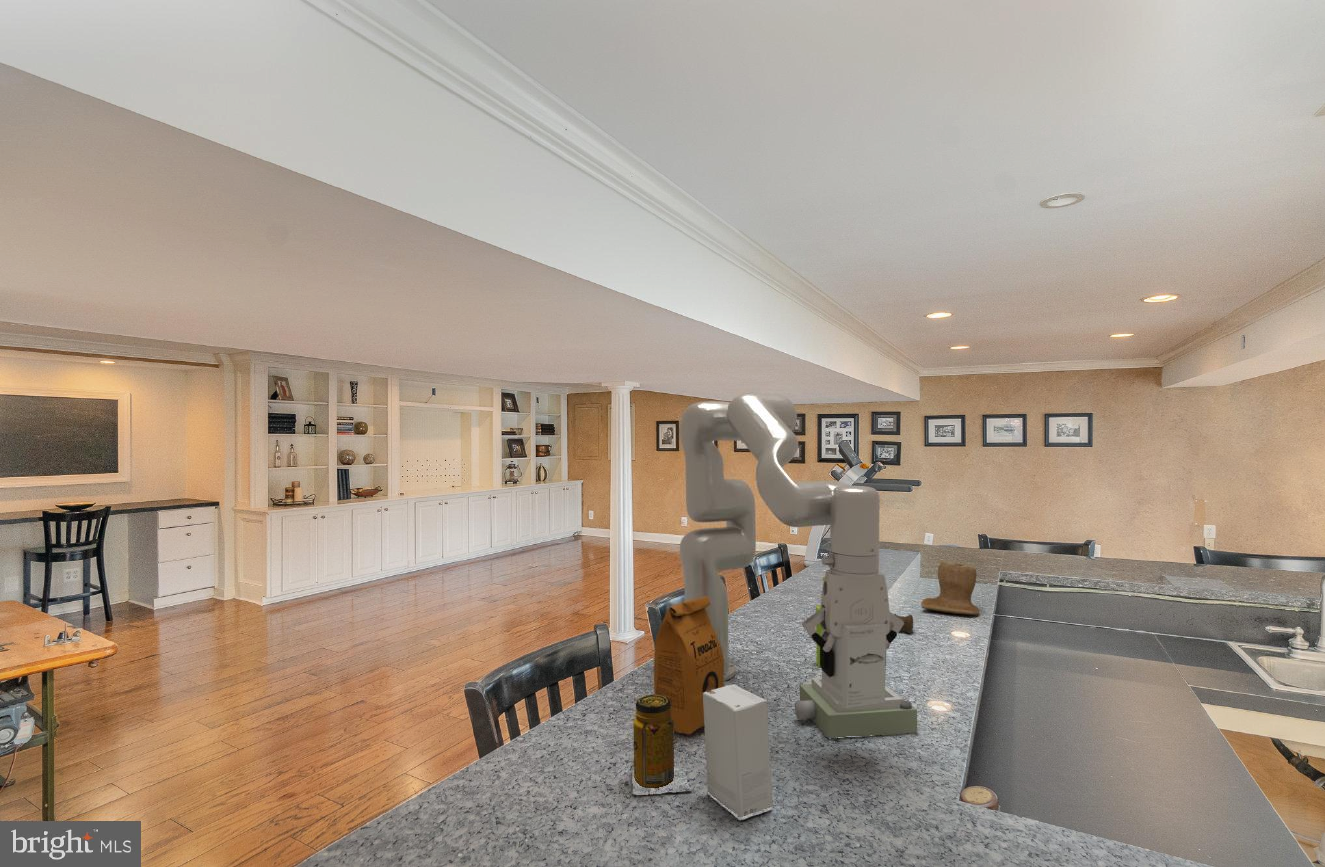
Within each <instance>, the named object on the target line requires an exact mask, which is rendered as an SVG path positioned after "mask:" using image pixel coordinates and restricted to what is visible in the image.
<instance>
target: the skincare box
mask: <svg viewBox="0 0 1325 867" xmlns="http://www.w3.org/2000/svg"><path fill="white" fill-rule="evenodd" d="M703 707H704V726H703V728H704V745H705V746H704V747H705V764H706V765H705V767H706V783H707V784H706V789H707V793H708V792H709V793H710V794H711V795H712V796H713V797H714V798H716V799H717V800H718V801H720V803H722V804H723V805H725V807H727V808H728V809H730V810H732V811H733V812H734V813H735V814H737V815H738V816H739V817H743V816H746V815H748V814H751V813H756V812H758V811H761V810H763V809H767V808H770V807H774V802H773V801H774V800H773V788H772V787H773V786H772V768H771V752H770V750H771V749H770V735H769V734H770V733H769V716H768V713H769V712H768V700H767V699H764V698H762V697H761V696H759V695H756V694H754V693H752V692H750V691H748V690H746V689H744V688H742V687H740V686H738V685H736V684H733V683H732V684H727V685H724V687H721V688H718V689H714V690H711V691H707V692H704V693H703Z"/></svg>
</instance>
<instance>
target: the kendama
mask: <svg viewBox="0 0 1325 867" xmlns="http://www.w3.org/2000/svg"><path fill="white" fill-rule="evenodd" d="M893 614H894V615H895V616H897V617H898V618H899V619H901V620H902V621H903V622H904V625H903V626H902V628H901V629H900V631H904V632H906V633H907V634H908V635H911V634H912V633H913V630H914V617H913V615H912V614H908V615H906V616H902V615H897V614H896V613H893Z"/></svg>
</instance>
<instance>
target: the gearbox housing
mask: <svg viewBox="0 0 1325 867" xmlns="http://www.w3.org/2000/svg"><path fill="white" fill-rule="evenodd" d="M810 682H811V683H805V684H799V700H795V702H794V714H795V717H796V718H797V720H809V719H811V721H812V722H813V723H814V722H815V723H816V724H815V723H814V724H815V725H816V726H817V727H818V729H819V730H820V729H821V730H822V731H823V732H824V733H825V734H824V733H823V732H822V731H821V730H820V731H821V732H822V733H823V734H824V736H828V738H836V737H837V738H838V737H846V736H868V737H871V736H870V735H882V736H893V735H895V736H896V735H905V734H906V733H909V734H918V709H917V708H916V707H914V706H913V704H912V702H911V701H909V700H905V699H904V698H903V697H902V696H900V695H899V694H898V693H896V692H895V691H894V690H893V689H891V688H890V687H888V686H887V685H886V684H885V703H883V704H870V705H861V706H854V707H848V708H844V707H843V706H841V705H840V704H839V703H838V702H836V701H835V700H834V699H832V698H831V697H830V696H829V695H827V694H826V693H825V692H824V691H823V690H822V689H821V686H822V676H821V677H812V678H811V681H810ZM906 735H907V734H906ZM828 738H827V739H828Z"/></svg>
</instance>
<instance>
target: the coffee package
mask: <svg viewBox="0 0 1325 867" xmlns="http://www.w3.org/2000/svg"><path fill="white" fill-rule="evenodd" d="M709 605H710V601H709V599H708V597H707V596H704V597H701V598H697V599H693V600H690V601H686V602H685V601H681V602H678V603H676V604H674V605H672V606H669V607H668V609H667V611H666V614H665V615H664V618H663V619H662V623H661V624H660V627H659V629H658V631H657V635H656V636H655V644H654V645H655V646H654V653H653V654H654V655H653V656H654V657H653V658H654V660H653V664H654V665H653V690H654V691H653V695H661V696H665V697H667V698H668V699H669V700H670V702H671V716H672V718H673V721H674V732H676V733H679V734H686V735H691V734H692V733H694V732H695V731H696V730H698V729H701V728H702V727H703V728H704V707H703V693H704V692H707V691H711V690H714V689H718V688H721V687H725V684H724V683H725V681H724V658H723V653H722V648H721V645H720V643H719V640H718V637H717V635H716V633H715V630H714V629H713V627H712V626H711V622H710V619H709V616H708V612H707V611H706V610H705V607H708V606H709Z"/></svg>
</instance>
